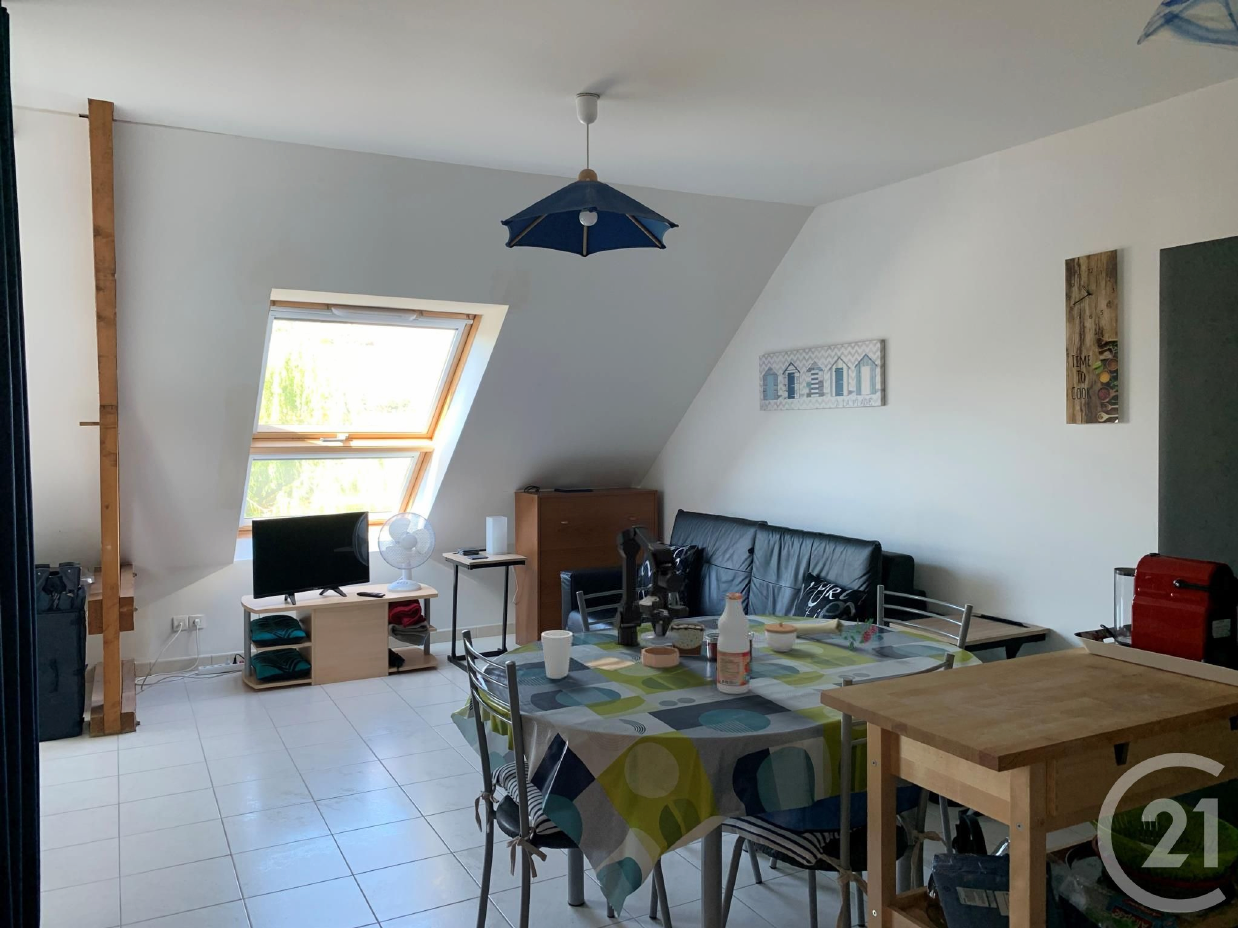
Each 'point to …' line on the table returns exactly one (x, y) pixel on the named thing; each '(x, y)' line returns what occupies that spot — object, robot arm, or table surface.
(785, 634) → the lidded jar
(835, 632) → the flower vase
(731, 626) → the fruit juice
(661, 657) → the bowl
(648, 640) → the lid
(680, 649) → the food container
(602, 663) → the mat
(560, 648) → the foam cup
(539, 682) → the table surface
